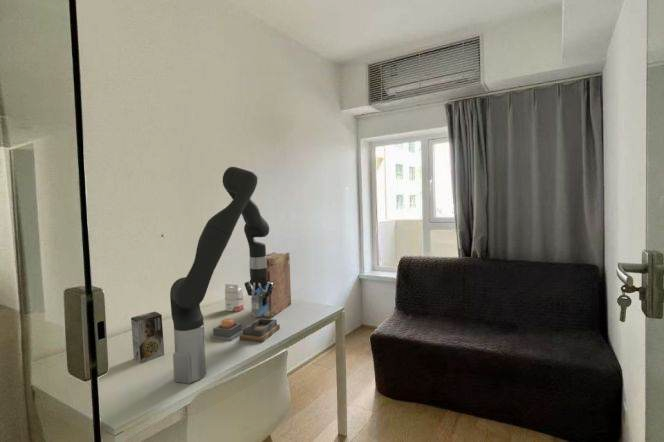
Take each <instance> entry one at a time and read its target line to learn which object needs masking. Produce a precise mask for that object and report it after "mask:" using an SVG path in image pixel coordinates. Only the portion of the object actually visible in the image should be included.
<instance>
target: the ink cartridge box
mask: <svg viewBox="0 0 664 442" xmlns="http://www.w3.org/2000/svg"><path fill="white" fill-rule="evenodd" d="M224 296H225V297H224V299H225V311H226V312H238V313H239V312H240V311H241V312H242V311H243V310H244V292H243V288H242V287H240V288H239V285H238V284H225V285H224Z"/></svg>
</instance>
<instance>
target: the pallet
mask: <svg viewBox="0 0 664 442" xmlns="http://www.w3.org/2000/svg"><path fill="white" fill-rule="evenodd" d="M277 321H278V320H277V319H273V318H262V317H258V318H257V319H256V320H254V321H253V322H251V323H250V324H248V325H247V326H245V327H242V329H243V333H242V334H241V335H239V340H240V341H248V342H256V343H257V342H259V343H264V342H266V340H268V339H269V338H270V337H272V335H274V334H275V333H277V331H279V330H280V329H281V326H280V324H278V323H277Z"/></svg>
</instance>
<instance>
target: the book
mask: <svg viewBox="0 0 664 442" xmlns="http://www.w3.org/2000/svg"><path fill="white" fill-rule="evenodd" d="M266 259H267V279H268V282H271V283H272V282H273V283H274V286H273V290H272V293H271V295H270V296H268V311H267V312H265V313H264V314H262V315H261V316H259V317H258V318H262V319H273V318H274V317H276V315H278V314H279V313H281V312H283V311H284V310H285V309H287V308H288V307H289V306H291V305H292V292H291V291H292V289H291V267H290V266H291V265H290V261H291V260H290V252H285V253H276V251H274V252H270V253H266ZM263 290H264V289H263ZM257 294H258V291H257ZM254 317H255V318H257V317H256V316H254Z"/></svg>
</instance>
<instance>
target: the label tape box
mask: <svg viewBox="0 0 664 442" xmlns="http://www.w3.org/2000/svg"><path fill="white" fill-rule="evenodd" d="M266 288H267V290H268V285H266ZM250 299H251V300H250V301H251V302H250V303H251V304H250V305H251V316H252V317H255V316H256V317H255V318H260V317H259V316H261V315H262V314H264V313H265V312H267V311H268V303H267V305H266V306H263V296H262V291H261V287H260V288H258V294H257V295H255V296H253V297H252V296H250ZM267 302H268V297H267Z"/></svg>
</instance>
